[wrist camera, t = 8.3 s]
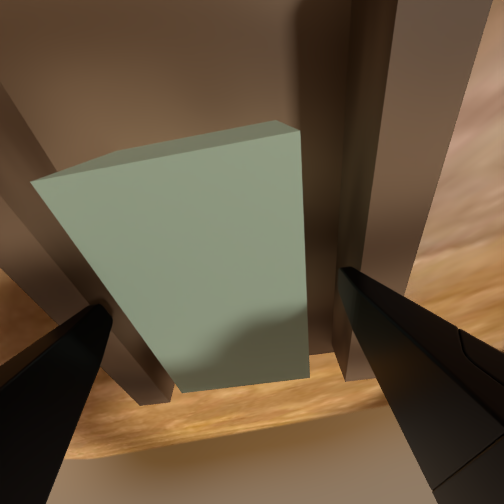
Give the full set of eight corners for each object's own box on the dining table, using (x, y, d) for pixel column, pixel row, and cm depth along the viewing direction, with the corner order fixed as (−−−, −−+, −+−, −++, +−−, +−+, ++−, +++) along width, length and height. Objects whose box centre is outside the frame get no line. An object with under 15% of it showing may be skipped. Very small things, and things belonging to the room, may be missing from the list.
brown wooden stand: (367, 323, 17) (401, 382, 14) (149, 352, 19) (125, 414, 15) (451, -117, 6) (741, -424, 3) (-97, 19, 8) (-429, -66, 4)
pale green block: (293, 309, 13) (309, 377, 10) (196, 323, 14) (181, 393, 10) (275, 120, 8) (300, 131, 5) (115, 150, 8) (29, 181, 5)
